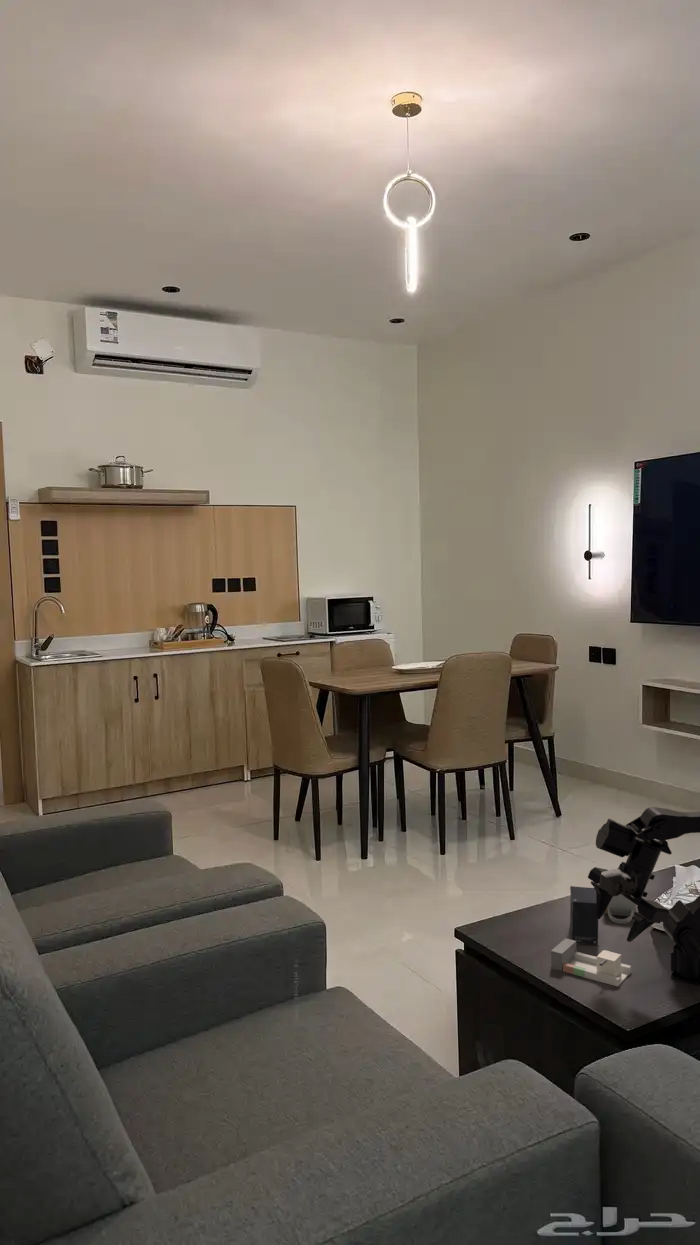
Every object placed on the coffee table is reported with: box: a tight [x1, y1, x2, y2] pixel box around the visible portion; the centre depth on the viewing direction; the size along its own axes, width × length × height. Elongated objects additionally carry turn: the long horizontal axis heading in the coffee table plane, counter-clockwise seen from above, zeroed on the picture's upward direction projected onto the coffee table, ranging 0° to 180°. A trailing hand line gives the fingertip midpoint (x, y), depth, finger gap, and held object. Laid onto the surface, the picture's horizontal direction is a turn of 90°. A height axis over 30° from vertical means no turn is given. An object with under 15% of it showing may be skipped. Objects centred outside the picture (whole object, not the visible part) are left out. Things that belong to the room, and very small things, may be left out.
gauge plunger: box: [596, 949, 622, 977], centre depth 191 cm, size 4×7×4 cm, turn 143°
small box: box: [569, 885, 599, 946], centre depth 212 cm, size 11×6×10 cm, turn 168°
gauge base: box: [550, 937, 632, 988], centre depth 194 cm, size 15×8×4 cm, turn 53°
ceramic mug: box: [604, 894, 637, 925], centre depth 223 cm, size 11×8×8 cm
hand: (612, 929), depth 190 cm, fingers open, 9 cm apart
